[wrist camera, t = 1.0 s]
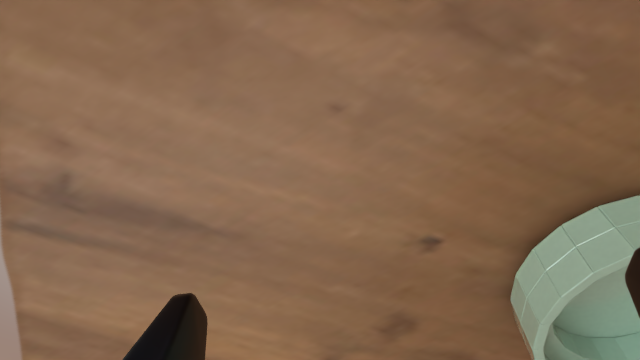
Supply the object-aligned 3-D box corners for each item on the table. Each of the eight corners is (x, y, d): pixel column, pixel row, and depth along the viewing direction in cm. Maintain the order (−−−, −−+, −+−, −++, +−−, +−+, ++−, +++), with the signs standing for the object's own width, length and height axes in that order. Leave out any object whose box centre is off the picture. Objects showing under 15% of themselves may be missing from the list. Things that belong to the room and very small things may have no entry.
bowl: (729, 322, 30) (787, 384, 26) (524, 363, 33) (548, 424, 29) (747, 157, 23) (827, 207, 20) (491, 226, 26) (517, 281, 22)
